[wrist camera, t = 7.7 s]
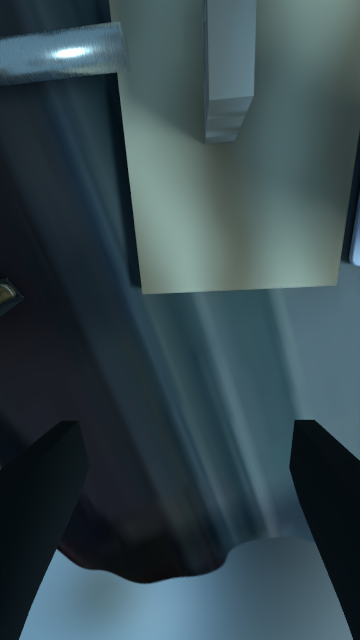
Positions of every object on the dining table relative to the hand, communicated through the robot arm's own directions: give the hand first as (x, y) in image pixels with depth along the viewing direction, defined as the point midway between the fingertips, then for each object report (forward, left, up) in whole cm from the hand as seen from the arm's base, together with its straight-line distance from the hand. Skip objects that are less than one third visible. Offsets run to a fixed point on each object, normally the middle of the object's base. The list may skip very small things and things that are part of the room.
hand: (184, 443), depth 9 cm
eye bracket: (-2, -14, -10) cm, 18 cm away
